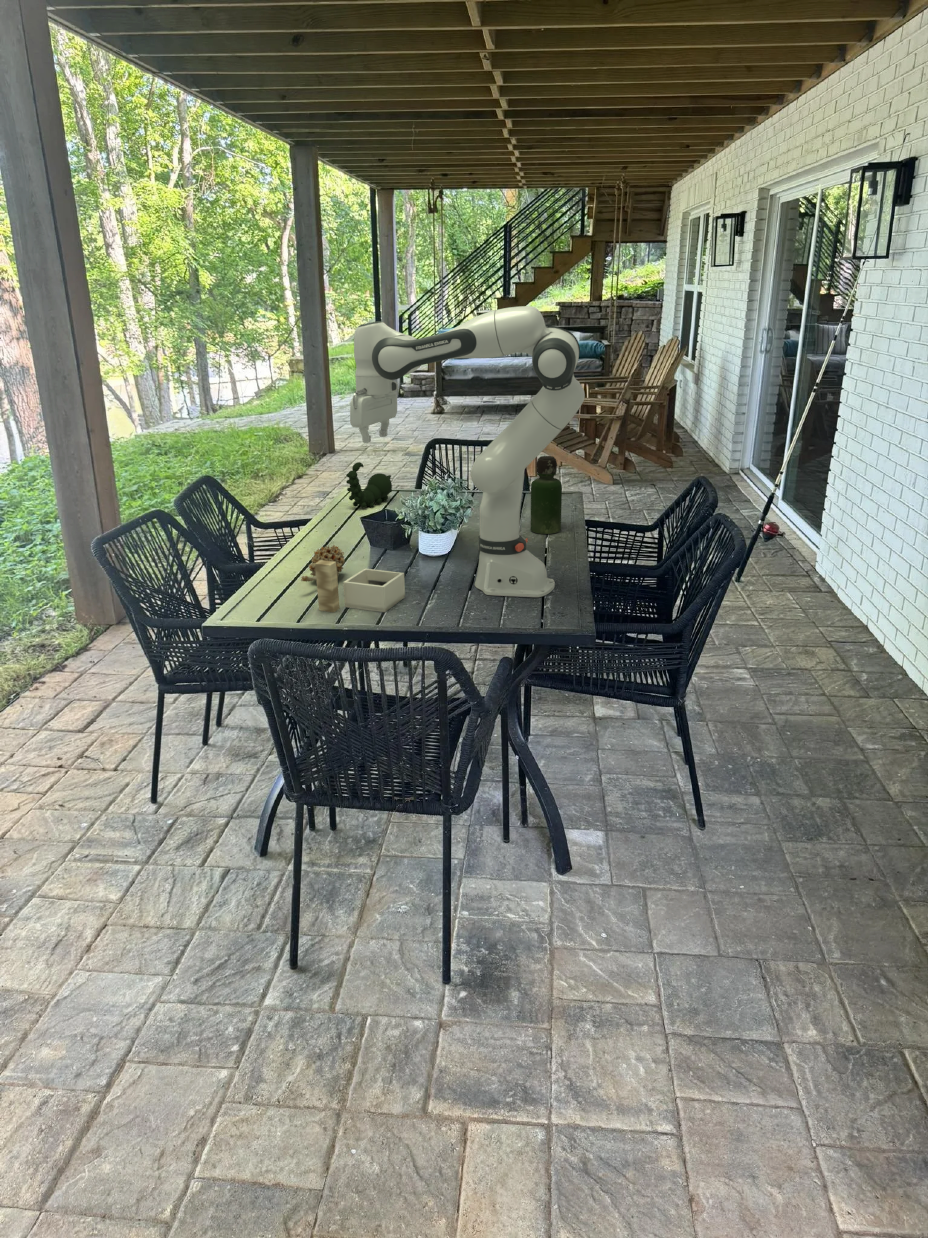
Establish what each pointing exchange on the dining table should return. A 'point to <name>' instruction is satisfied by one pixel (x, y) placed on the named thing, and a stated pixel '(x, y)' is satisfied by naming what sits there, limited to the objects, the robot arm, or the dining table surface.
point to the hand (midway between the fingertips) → (375, 439)
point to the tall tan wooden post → (327, 586)
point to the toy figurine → (368, 488)
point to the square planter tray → (374, 590)
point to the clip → (376, 582)
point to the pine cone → (326, 555)
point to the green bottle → (546, 498)
